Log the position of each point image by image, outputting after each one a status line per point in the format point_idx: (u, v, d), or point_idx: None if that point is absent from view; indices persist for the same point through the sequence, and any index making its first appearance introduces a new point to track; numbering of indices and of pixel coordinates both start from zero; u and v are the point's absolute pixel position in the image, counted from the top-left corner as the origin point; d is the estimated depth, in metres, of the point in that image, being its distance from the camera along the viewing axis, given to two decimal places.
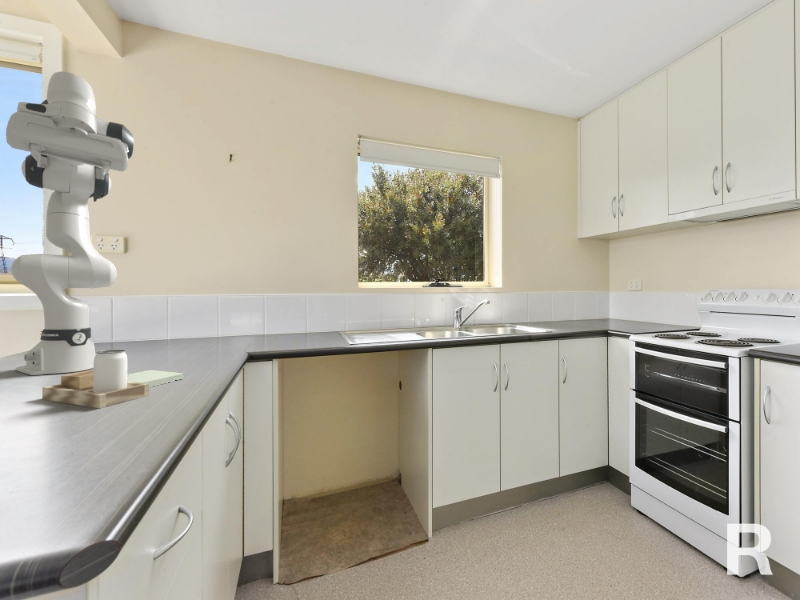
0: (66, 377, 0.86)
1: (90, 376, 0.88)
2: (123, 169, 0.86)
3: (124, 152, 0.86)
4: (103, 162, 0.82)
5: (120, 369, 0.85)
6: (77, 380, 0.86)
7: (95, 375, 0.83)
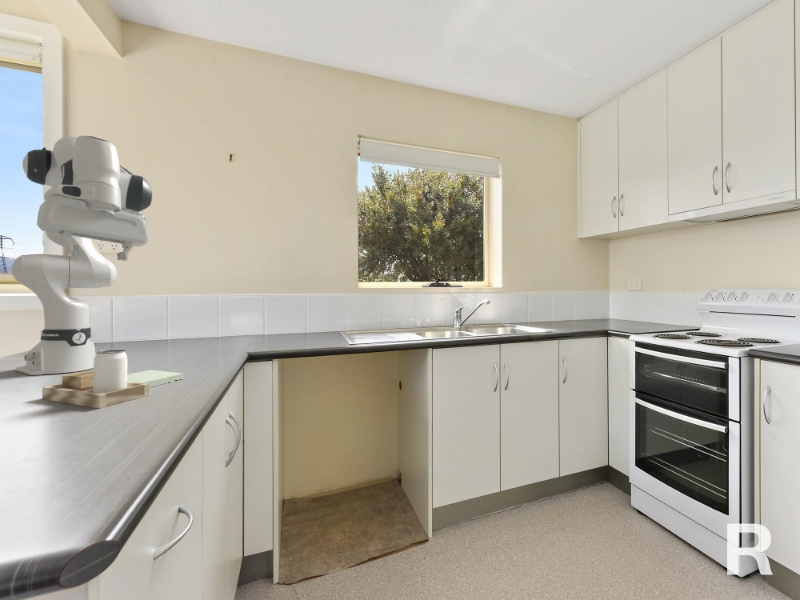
0: (67, 377, 0.86)
1: (91, 376, 0.88)
2: (141, 245, 0.91)
3: (145, 231, 0.90)
4: (127, 244, 0.86)
5: (120, 369, 0.85)
6: (78, 380, 0.86)
7: (95, 375, 0.83)
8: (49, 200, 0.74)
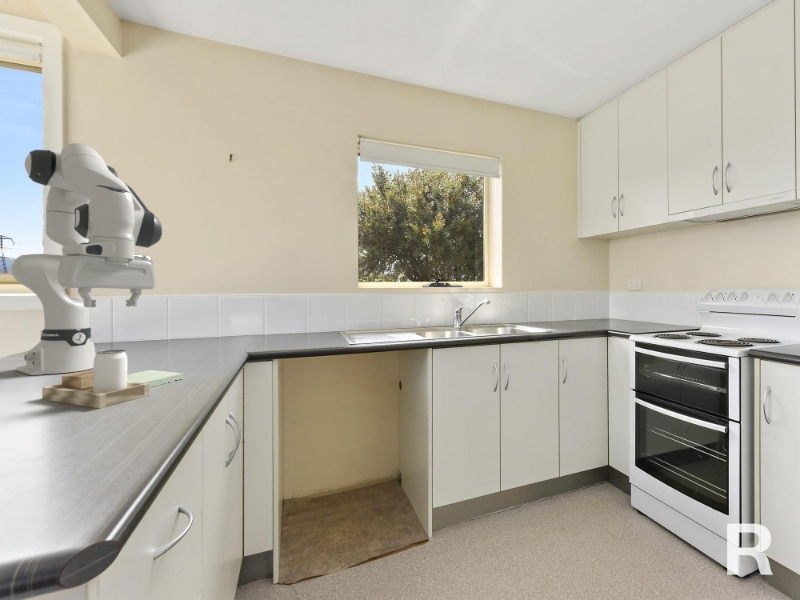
0: (67, 377, 0.86)
1: (91, 376, 0.88)
2: None
3: (153, 277, 0.95)
4: (136, 291, 0.91)
5: (120, 369, 0.85)
6: (78, 380, 0.86)
7: (95, 375, 0.83)
8: (74, 261, 0.77)
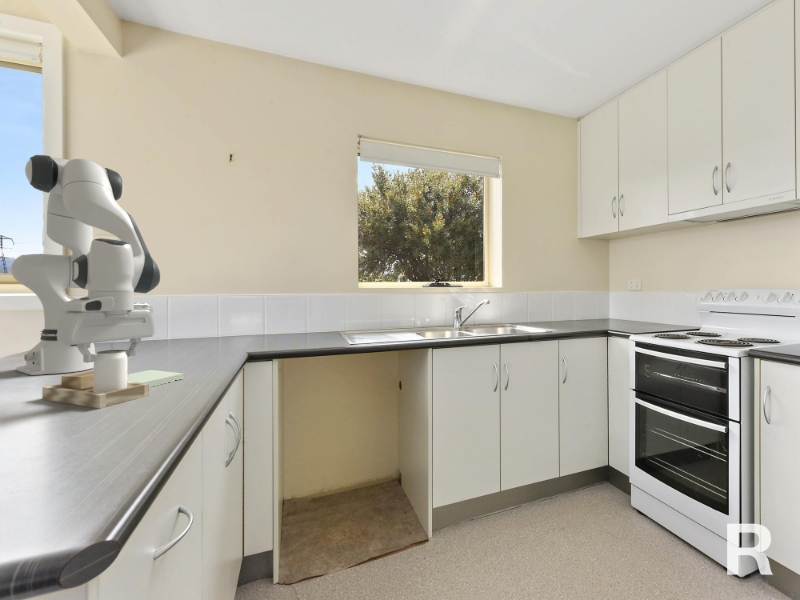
0: (67, 377, 0.86)
1: (91, 376, 0.88)
2: None
3: (153, 324, 0.94)
4: (136, 341, 0.91)
5: (120, 369, 0.85)
6: (78, 380, 0.86)
7: (95, 375, 0.83)
8: (73, 319, 0.77)
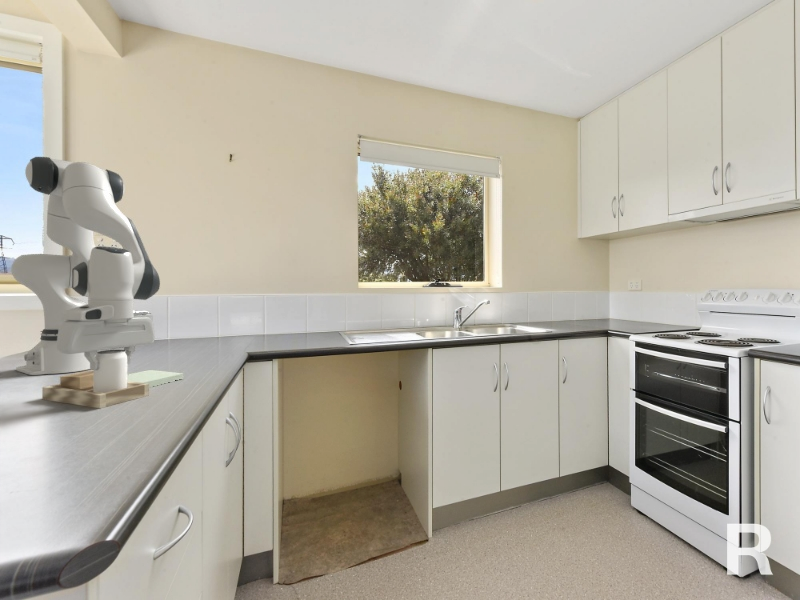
0: (65, 378, 0.86)
1: (90, 376, 0.88)
2: None
3: (153, 331, 0.95)
4: (130, 349, 0.90)
5: (120, 369, 0.85)
6: (77, 380, 0.85)
7: (95, 375, 0.83)
8: (73, 328, 0.77)
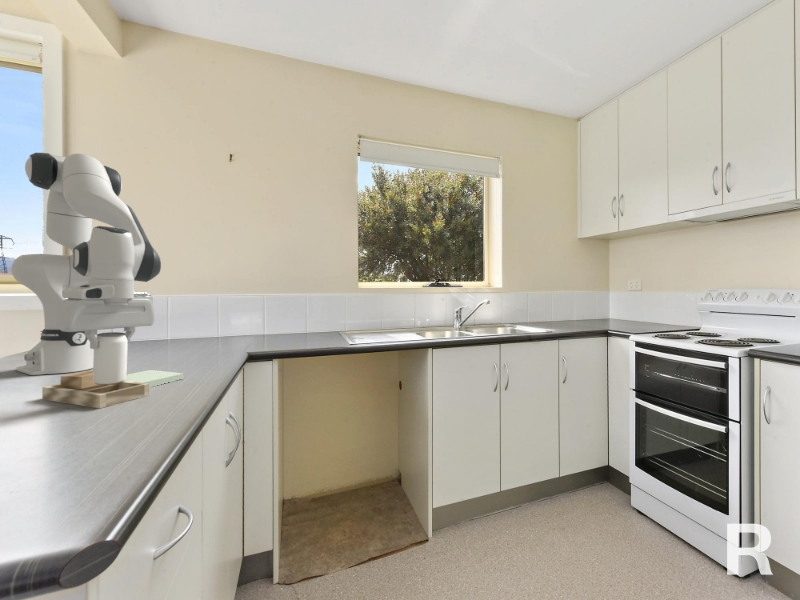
0: (66, 377, 0.86)
1: (91, 376, 0.88)
2: None
3: (153, 313, 0.95)
4: (130, 330, 0.90)
5: (120, 352, 0.86)
6: (78, 380, 0.86)
7: (95, 357, 0.84)
8: (73, 306, 0.77)
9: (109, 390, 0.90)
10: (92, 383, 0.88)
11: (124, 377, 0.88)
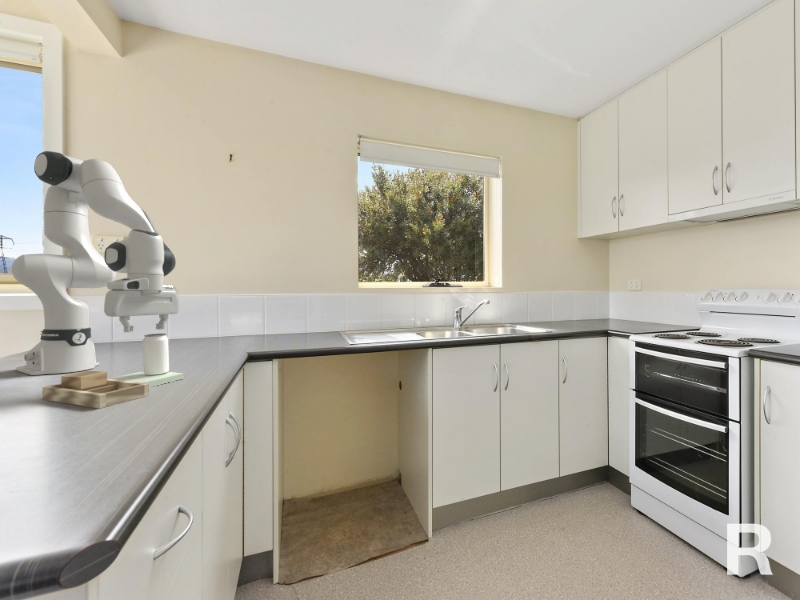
0: (67, 378, 0.86)
1: (91, 376, 0.88)
2: None
3: (178, 303, 1.12)
4: (164, 316, 1.08)
5: (164, 348, 1.06)
6: (78, 380, 0.85)
7: (145, 354, 1.04)
8: (117, 295, 0.94)
9: (109, 390, 0.90)
10: (92, 384, 0.88)
11: (168, 369, 1.08)
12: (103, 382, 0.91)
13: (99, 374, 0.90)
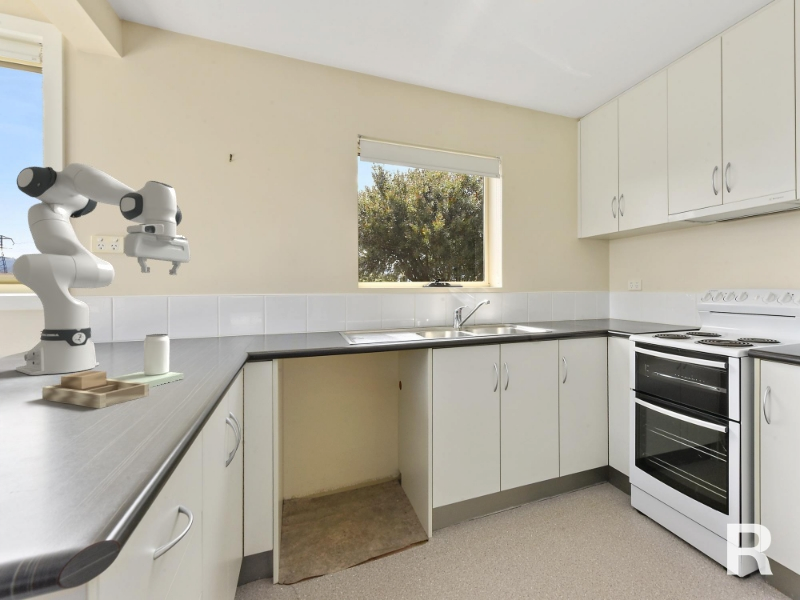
0: (66, 378, 0.86)
1: (91, 376, 0.88)
2: None
3: (189, 253, 1.22)
4: (177, 263, 1.18)
5: (165, 349, 1.06)
6: (78, 380, 0.86)
7: (146, 353, 1.04)
8: (136, 237, 1.04)
9: (109, 390, 0.90)
10: (92, 383, 0.88)
11: (168, 369, 1.08)
12: (103, 382, 0.91)
13: (99, 374, 0.90)
